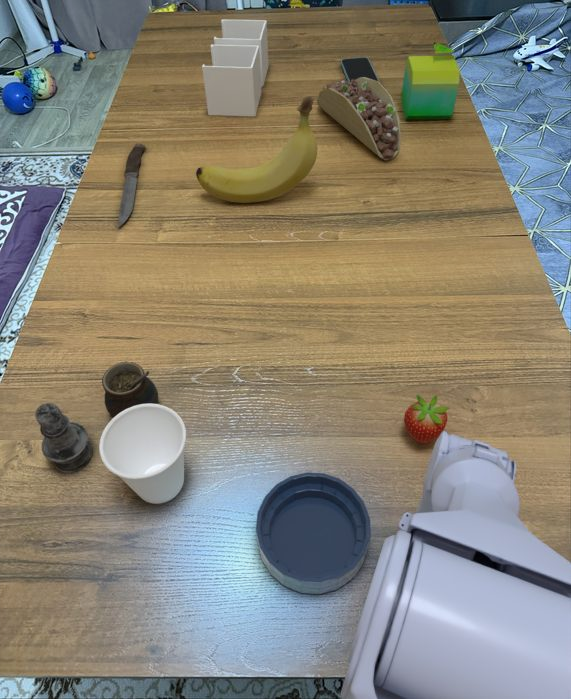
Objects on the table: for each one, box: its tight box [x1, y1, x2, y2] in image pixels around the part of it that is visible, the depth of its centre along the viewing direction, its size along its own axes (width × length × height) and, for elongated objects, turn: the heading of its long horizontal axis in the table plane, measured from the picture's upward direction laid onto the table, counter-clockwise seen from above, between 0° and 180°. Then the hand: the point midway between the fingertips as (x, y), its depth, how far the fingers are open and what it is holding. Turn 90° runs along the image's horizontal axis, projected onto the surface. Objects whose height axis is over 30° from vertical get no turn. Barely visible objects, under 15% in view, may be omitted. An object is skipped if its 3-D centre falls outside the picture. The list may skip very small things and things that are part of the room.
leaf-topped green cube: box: [401, 41, 460, 121], centre depth 126 cm, size 11×10×15 cm
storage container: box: [201, 18, 270, 117], centre depth 136 cm, size 25×11×11 cm, turn 174°
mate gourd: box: [101, 360, 159, 419], centre depth 78 cm, size 7×8×10 cm
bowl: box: [255, 472, 371, 595], centre depth 68 cm, size 13×13×4 cm
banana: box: [195, 95, 318, 204], centre depth 105 cm, size 23×6×20 cm, turn 93°
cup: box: [98, 403, 187, 505], centre depth 70 cm, size 10×10×11 cm
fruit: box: [403, 394, 450, 444], centre depth 75 cm, size 5×5×8 cm
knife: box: [117, 142, 146, 228], centre depth 115 cm, size 28×3×1 cm, turn 4°
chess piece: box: [34, 402, 94, 474], centre depth 73 cm, size 6×6×12 cm
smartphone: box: [340, 56, 381, 84], centre depth 143 cm, size 7×1×15 cm
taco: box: [316, 77, 402, 162], centre depth 123 cm, size 10×27×10 cm, turn 29°
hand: (422, 568), depth 65 cm, fingers open, 7 cm apart
